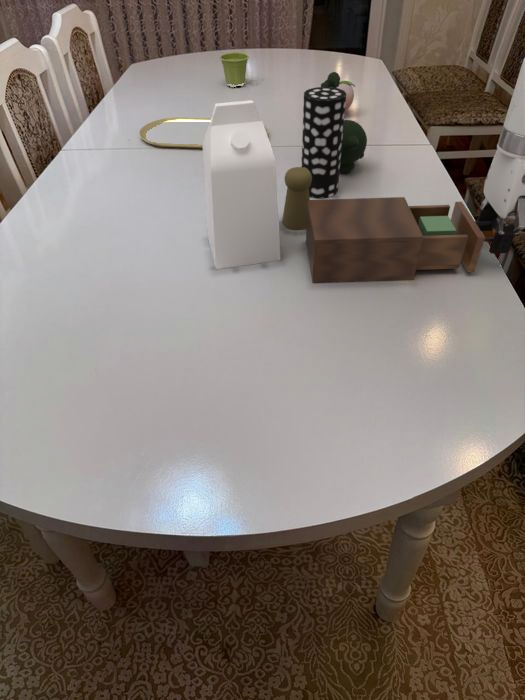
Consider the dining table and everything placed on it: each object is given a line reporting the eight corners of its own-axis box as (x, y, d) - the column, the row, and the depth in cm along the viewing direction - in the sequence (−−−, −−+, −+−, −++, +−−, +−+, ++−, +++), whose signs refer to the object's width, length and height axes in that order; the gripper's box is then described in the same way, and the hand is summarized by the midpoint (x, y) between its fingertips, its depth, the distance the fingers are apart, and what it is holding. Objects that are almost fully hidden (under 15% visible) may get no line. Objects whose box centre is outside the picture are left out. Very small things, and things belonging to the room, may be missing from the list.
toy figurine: (307, 150, 131) (333, 184, 112) (309, 69, 119) (338, 91, 100) (342, 147, 132) (374, 180, 113) (347, 66, 120) (383, 88, 101)
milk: (266, 228, 100) (264, 88, 82) (280, 260, 92) (281, 112, 73) (207, 236, 98) (191, 95, 80) (216, 269, 90) (200, 120, 72)
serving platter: (262, 153, 126) (262, 146, 125) (130, 148, 130) (129, 142, 129) (271, 125, 140) (271, 120, 138) (152, 122, 144) (151, 116, 143)
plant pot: (254, 82, 168) (253, 53, 162) (242, 91, 162) (240, 61, 156) (229, 79, 171) (228, 51, 165) (217, 88, 165) (214, 58, 159)
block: (441, 240, 92) (447, 215, 88) (449, 255, 88) (456, 230, 84) (414, 241, 92) (419, 216, 88) (421, 256, 88) (427, 231, 84)
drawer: (485, 233, 95) (496, 200, 90) (510, 270, 86) (523, 236, 81) (366, 236, 95) (371, 204, 90) (379, 274, 86) (384, 240, 81)
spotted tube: (345, 191, 110) (355, 94, 96) (316, 202, 107) (321, 103, 93) (321, 178, 115) (327, 84, 102) (293, 187, 112) (295, 92, 98)
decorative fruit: (326, 122, 141) (328, 83, 134) (317, 112, 146) (319, 75, 140) (357, 118, 142) (361, 80, 135) (347, 109, 148) (350, 72, 141)
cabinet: (396, 238, 96) (404, 196, 90) (413, 280, 86) (423, 236, 80) (305, 241, 96) (307, 199, 90) (312, 283, 86) (314, 240, 80)
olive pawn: (278, 227, 100) (278, 174, 92) (287, 213, 104) (288, 161, 96) (306, 232, 98) (309, 178, 91) (315, 217, 102) (318, 165, 95)
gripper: (576, 163, 70) (531, 268, 83) (527, 119, 83) (494, 216, 95) (523, 165, 70) (486, 269, 83) (482, 120, 83) (455, 217, 95)
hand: (490, 240), depth 89 cm, fingers closed on drawer, 6 cm apart
